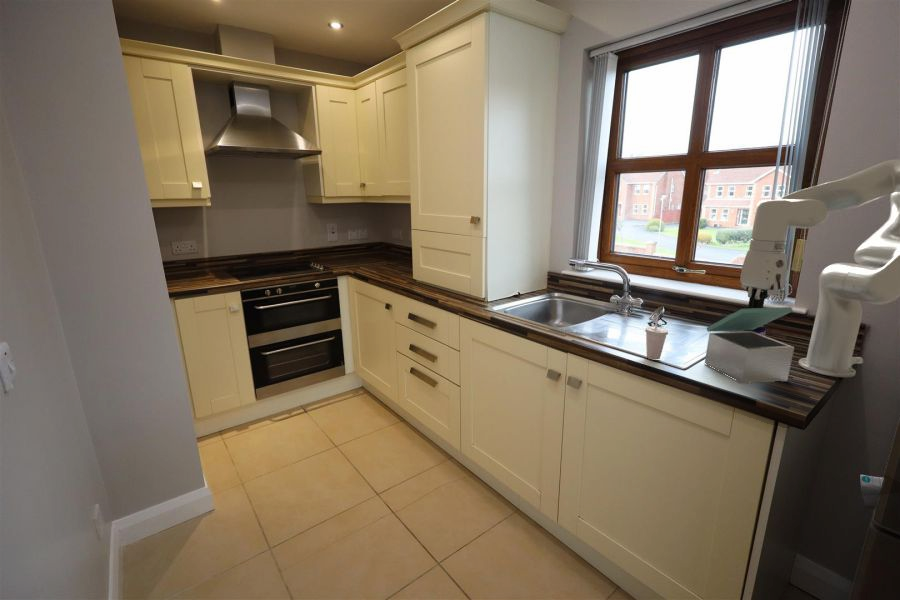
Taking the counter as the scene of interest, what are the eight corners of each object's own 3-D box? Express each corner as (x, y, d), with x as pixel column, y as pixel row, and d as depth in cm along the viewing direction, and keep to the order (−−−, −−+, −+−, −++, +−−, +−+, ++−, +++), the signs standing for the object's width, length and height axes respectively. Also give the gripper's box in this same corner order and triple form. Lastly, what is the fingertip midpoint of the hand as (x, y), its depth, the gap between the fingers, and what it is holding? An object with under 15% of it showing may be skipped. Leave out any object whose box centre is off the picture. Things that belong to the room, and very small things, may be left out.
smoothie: (657, 354, 133) (663, 313, 130) (668, 362, 127) (674, 318, 124) (638, 354, 133) (643, 313, 130) (648, 362, 127) (653, 318, 124)
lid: (752, 329, 126) (750, 323, 126) (793, 311, 113) (789, 303, 113) (707, 331, 124) (705, 324, 125) (743, 312, 111) (740, 305, 112)
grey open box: (745, 361, 128) (751, 331, 125) (787, 381, 114) (794, 347, 112) (704, 363, 126) (709, 332, 124) (741, 383, 113) (747, 349, 110)
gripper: (805, 249, 105) (790, 319, 109) (756, 243, 119) (745, 305, 124) (778, 250, 104) (765, 320, 108) (732, 244, 118) (722, 305, 123)
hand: (754, 312), depth 116 cm, fingers closed
